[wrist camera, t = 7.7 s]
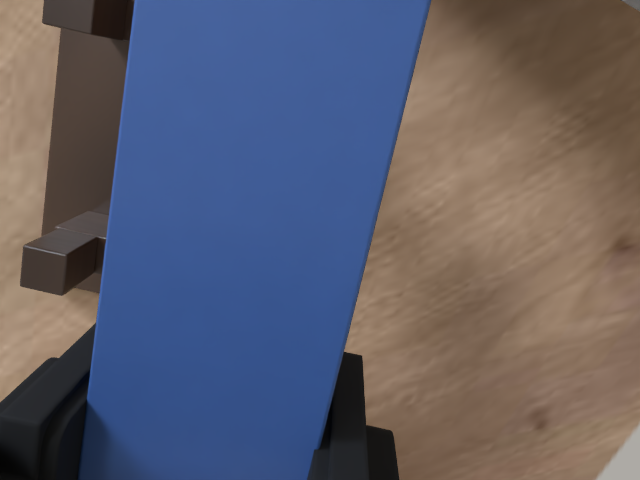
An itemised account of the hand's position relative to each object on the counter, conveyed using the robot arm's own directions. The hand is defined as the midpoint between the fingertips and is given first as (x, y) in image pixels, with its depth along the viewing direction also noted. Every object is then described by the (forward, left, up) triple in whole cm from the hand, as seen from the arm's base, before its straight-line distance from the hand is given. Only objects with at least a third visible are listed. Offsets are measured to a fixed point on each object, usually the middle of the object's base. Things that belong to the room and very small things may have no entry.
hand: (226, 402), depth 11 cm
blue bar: (0, 0, 0) cm, 0 cm away
